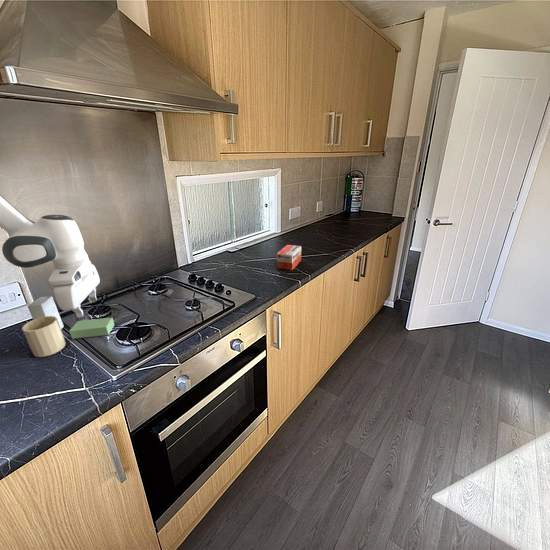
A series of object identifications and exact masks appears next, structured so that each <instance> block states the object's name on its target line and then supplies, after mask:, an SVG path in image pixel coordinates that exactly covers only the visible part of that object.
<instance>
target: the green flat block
mask: <svg viewBox="0 0 550 550" xmlns="http://www.w3.org/2000/svg"><path fill="white" fill-rule="evenodd" d="M114 326H115V321H114V318H113V317H103V318H97V319H96V318H94V319H85V320H76V322H75V323H74V325H73V326H72V327H71V328H70V329H69V330H68V332H69V334H70V337H71V339H72V340H74V339H82V338H91V337H100V336H101V337H102V336H109V335H110V334H111V332H112V330H113V328H114Z"/></svg>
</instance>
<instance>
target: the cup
mask: <svg viewBox="0 0 550 550" xmlns="http://www.w3.org/2000/svg"><path fill="white" fill-rule="evenodd" d="M21 330H22V333H23V335H24V337H25V340H26V342H27V345H28V346H29V349H30V352H31V353H32V355H33V356H34V357H36V358H44V357H48V356H52V355H54V354H57V353H58V352H60V351H62V350H63V349H64V348H65V347H66V346H67V345H66V344H67V343H66V342H67V341H66V339H65V337H64V333H63V331H62V329H61V328H60V325H59V323H58V320H57V318H56V317H55V316H45V317H40V318H37V319H34V320H33V319H32V320H30V321H28V322H26V323H25V324H23V326H22V327H21Z"/></svg>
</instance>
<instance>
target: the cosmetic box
mask: <svg viewBox="0 0 550 550" xmlns="http://www.w3.org/2000/svg"><path fill="white" fill-rule="evenodd" d="M27 309H28V312H29V313H30V315H31V318H32V320H34V319H37V318H40V317H45V316H55V317H56V318H57V320H58V323H59V325H60V328H61V330H63V328H64V327H65V326H64V322H63V321H62V318H61V315H60V312H59V311H58V307H57V305H56V303H55V300H54V297H53V296H39V297H37V298H36V299H35V300H34V301H32V302H31V303H30V304H28V305H27Z"/></svg>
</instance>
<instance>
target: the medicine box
mask: <svg viewBox="0 0 550 550" xmlns="http://www.w3.org/2000/svg"><path fill="white" fill-rule="evenodd" d="M300 262H302V246H301V245H293V244H286V245H285V246H284V247H283V248H281V249H280V250H279V251H278V252H277V253H276V269H279V270H286V271H293V270H294V269H295V268H296V267H297V266H298V265H299V264H300Z"/></svg>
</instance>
